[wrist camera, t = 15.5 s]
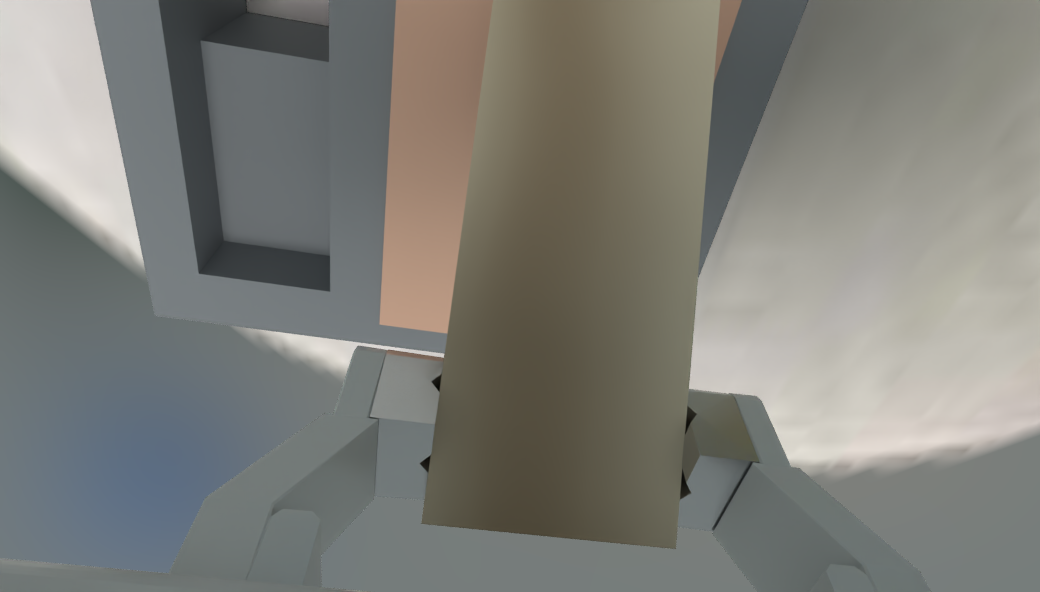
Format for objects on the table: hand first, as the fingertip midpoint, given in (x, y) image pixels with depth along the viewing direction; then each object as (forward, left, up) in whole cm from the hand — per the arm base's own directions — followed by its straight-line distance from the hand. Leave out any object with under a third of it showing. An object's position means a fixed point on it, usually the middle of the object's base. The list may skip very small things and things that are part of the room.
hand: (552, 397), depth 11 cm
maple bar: (0, -3, -4) cm, 5 cm away
